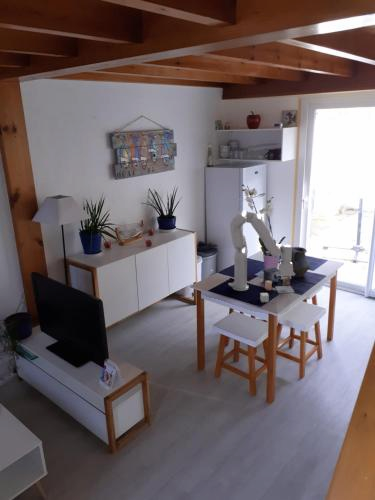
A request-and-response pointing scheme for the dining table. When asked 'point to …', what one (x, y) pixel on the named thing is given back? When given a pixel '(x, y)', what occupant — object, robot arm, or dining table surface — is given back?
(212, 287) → the dining table surface
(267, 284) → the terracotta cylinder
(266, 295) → the sage block
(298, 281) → the dining table surface
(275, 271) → the small box
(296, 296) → the dining table surface
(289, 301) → the dining table surface
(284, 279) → the walnut block
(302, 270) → the pitcher
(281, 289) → the grey mat
